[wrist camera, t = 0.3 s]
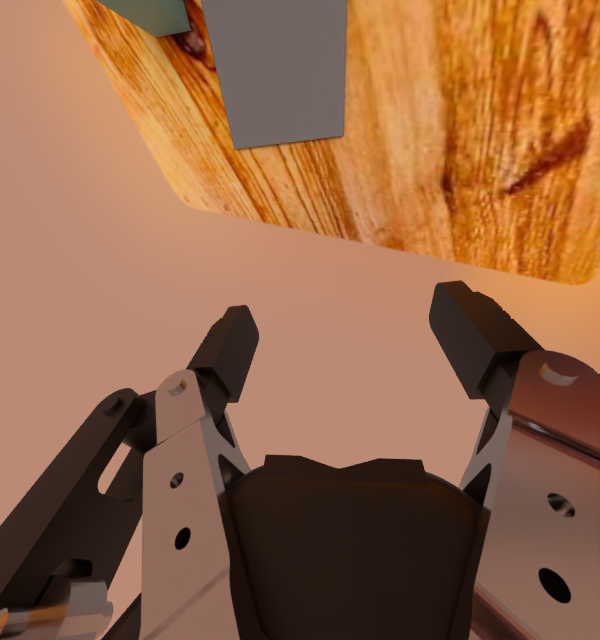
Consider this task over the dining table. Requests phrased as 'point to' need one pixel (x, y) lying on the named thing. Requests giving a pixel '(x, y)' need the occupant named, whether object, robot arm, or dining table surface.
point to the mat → (279, 68)
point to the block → (153, 15)
